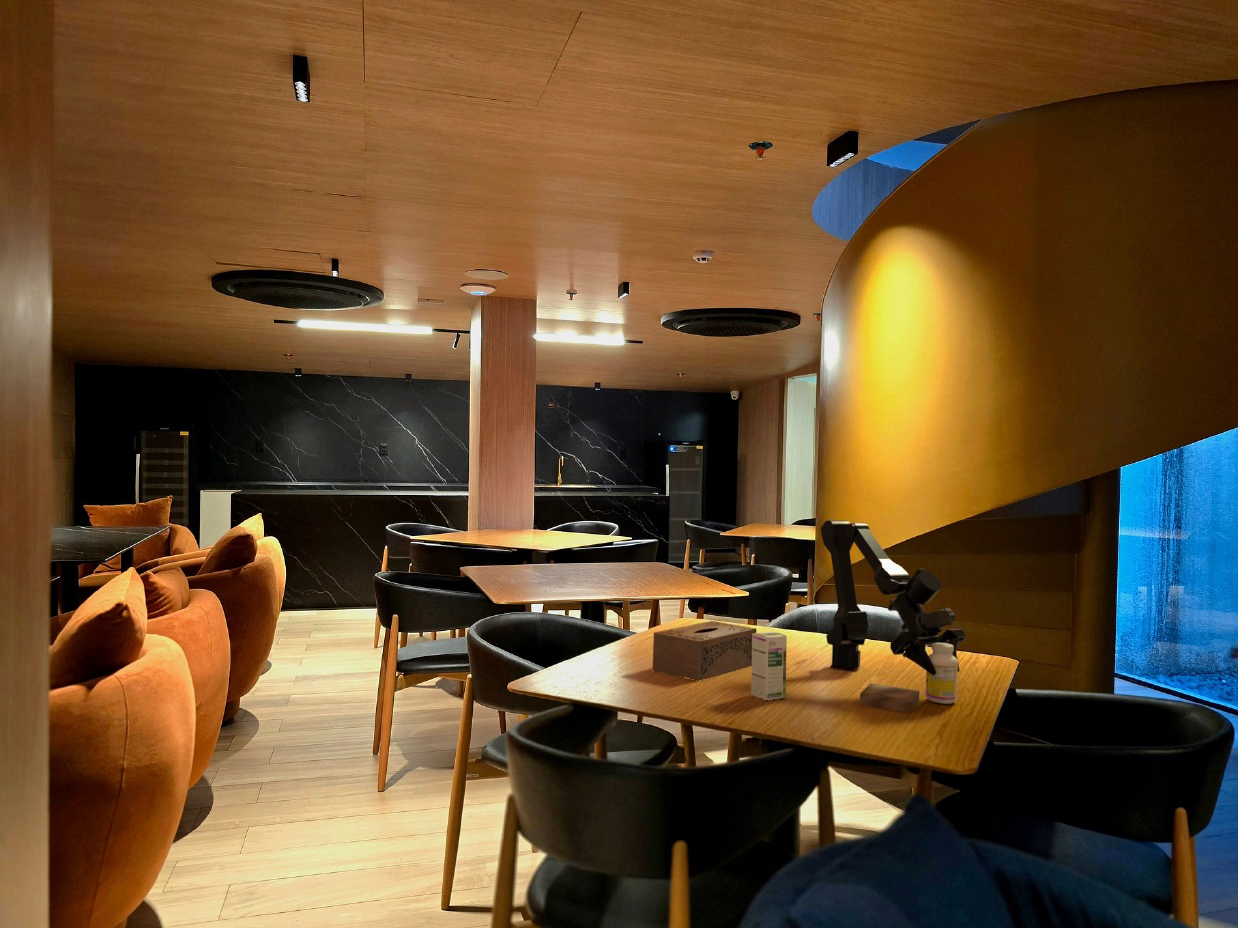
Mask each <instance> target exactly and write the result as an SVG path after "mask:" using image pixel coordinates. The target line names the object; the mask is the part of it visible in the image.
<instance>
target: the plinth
mask: <svg viewBox="0 0 1238 928" xmlns="http://www.w3.org/2000/svg"><path fill="white" fill-rule="evenodd" d="M919 702H920V690H919V689H911V688H906V687H899V686H898V687H897V686H893V685H886V684H885V685H884V684H877V683H871V682H870V683H869V684H868V685H867V686H866V687H865V688H864V689H863V690H862V691H861V692H860V693H859V705H860V706H865V707H870V708H877V707H879V708H878V709H884V710H889V709H890V710H891V711H896V712H903V713H910V714H912V713H913V711H914V710H915V708H916V707H917V705H918V704H919Z"/></svg>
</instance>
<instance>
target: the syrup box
mask: <svg viewBox="0 0 1238 928" xmlns="http://www.w3.org/2000/svg"><path fill="white" fill-rule="evenodd" d="M787 639H788V638H787V635H785V634H784V633H780V632H777V631H767V632H766V631H765V632H756V633H753V634H752V666H751V687H750V688H751V691H750V692H751V695H752V696H753V697H755V696H756V697H755V698H757V697H758V698H757V699H759V698H762V699H764V700H763V701H765V700H768V701H774V700H773V699H775V700H780V699H779V698H785V699H786V697H787V696H786V695H787V693H786V692H787V652H788V651H787V645H788V644H787V643H788V642H787V641H788V640H787ZM762 699H761V700H762Z"/></svg>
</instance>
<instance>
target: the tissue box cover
mask: <svg viewBox="0 0 1238 928" xmlns="http://www.w3.org/2000/svg"><path fill="white" fill-rule="evenodd" d="M753 633H757V628H755V627H750V626H743V625H738V624H732V623H727V622H721V621H715V620H709V621H704V622H699V623H695V624H690V625H689V624H688V625H683V626H681V627H674V628H670V629H664V630H659V631H656V632H653V643H652V644H653V645H652V646H653V647H652V649H653V650H652V671H653V670H654V671H653V672H655V671H657V672H656V673H660V672H663V673H662V674H664V673H666V674H665V675H668V674H671V675H670V676H673V675H675V676H674V677H677V676H681V677H687V678H690V679H694V680H697V681H696V682H698V681H699V680H702V681H704V680H703V679H706V680H708V679H707V678H709V679H711V678H710V677H713V678H716V677H719V676H722V674H723V675H725V674H729V672H730V673H732V672H737V671H739V670H740V671H741V670H743V669H747V668H750V667H752V634H753ZM749 666H750V667H749ZM742 668H743V669H742ZM736 670H737V671H736ZM715 676H716V677H715ZM681 677H680V678H681ZM690 679H689V680H690ZM694 680H693V681H694ZM699 682H700V681H699Z"/></svg>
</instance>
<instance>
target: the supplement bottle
mask: <svg viewBox="0 0 1238 928" xmlns="http://www.w3.org/2000/svg"><path fill="white" fill-rule="evenodd" d="M931 650H932V653H930V654H928V656H929V658H930V660H931V662H932V664H933V666H934V668H935V670H936V674H935V675H932V674H930V673H929V672H927V671H926V672H925V673H926V675H925V676H926V677H925V679H926V680H925V698H926V699H927V700H928V701H929V702H933V703H936V704H943V705H944V704H945V705H950V704H955V702H957V695H958V673H957V669H958V665H959V661H957V659H958V658H957V659H956V657H954V656H953V655H952V653H953V651H954V646H953V645H951V644H947V643H932V645H931Z"/></svg>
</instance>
